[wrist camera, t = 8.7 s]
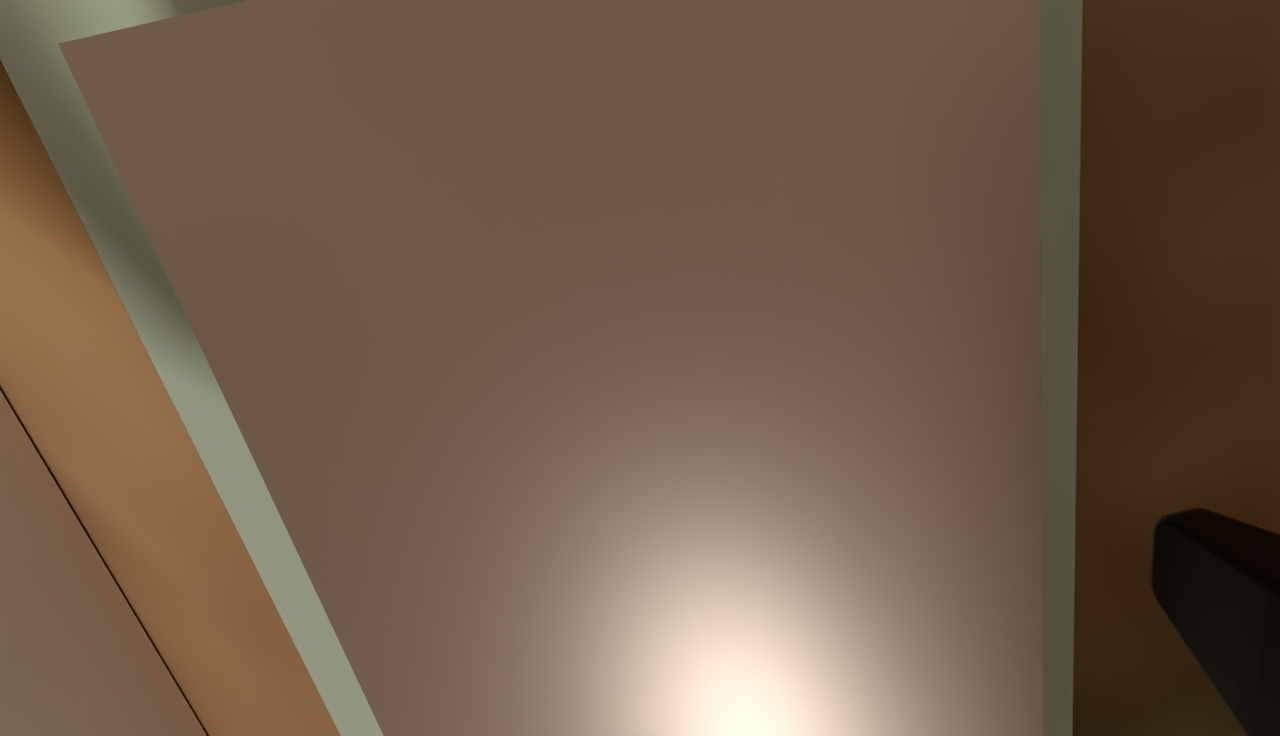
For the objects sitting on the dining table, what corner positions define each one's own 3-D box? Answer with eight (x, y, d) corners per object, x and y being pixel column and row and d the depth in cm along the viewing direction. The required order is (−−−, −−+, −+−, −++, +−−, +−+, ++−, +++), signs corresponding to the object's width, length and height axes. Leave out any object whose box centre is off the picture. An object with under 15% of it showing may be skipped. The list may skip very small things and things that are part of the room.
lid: (528, 877, 15) (529, 1046, 12) (179, 20, 9) (57, 43, 6) (964, 768, 15) (1044, 915, 12) (907, -147, 9) (1038, -182, 7)
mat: (451, 928, 15) (449, 951, 15) (-46, -78, 8) (-71, -79, 8) (1059, 775, 16) (1071, 794, 15) (1063, -332, 9) (1086, -345, 8)
